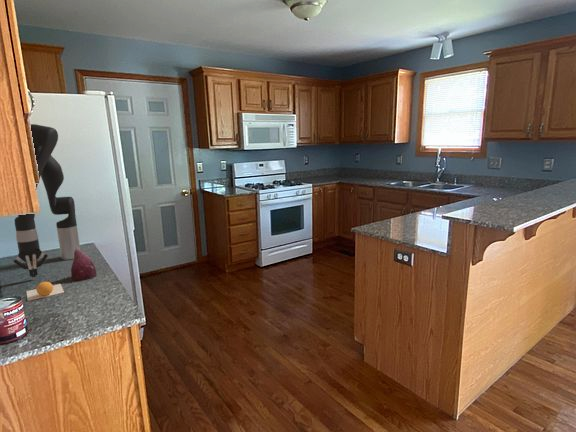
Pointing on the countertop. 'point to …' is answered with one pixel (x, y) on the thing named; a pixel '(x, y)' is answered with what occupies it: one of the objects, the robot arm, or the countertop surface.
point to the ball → (44, 288)
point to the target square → (56, 290)
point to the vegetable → (82, 267)
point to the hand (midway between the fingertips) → (33, 276)
